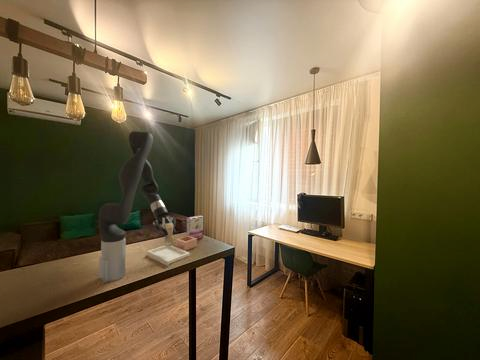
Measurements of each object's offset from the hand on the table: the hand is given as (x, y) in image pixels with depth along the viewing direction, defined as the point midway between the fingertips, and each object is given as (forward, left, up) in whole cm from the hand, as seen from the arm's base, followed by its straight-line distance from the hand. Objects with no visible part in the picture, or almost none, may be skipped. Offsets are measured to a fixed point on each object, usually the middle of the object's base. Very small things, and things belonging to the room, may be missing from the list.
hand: (170, 234), depth 109 cm
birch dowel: (0, +2, -7) cm, 7 cm away
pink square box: (+14, +4, -13) cm, 19 cm away
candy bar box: (+28, +12, -13) cm, 33 cm away
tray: (0, +2, -13) cm, 13 cm away
